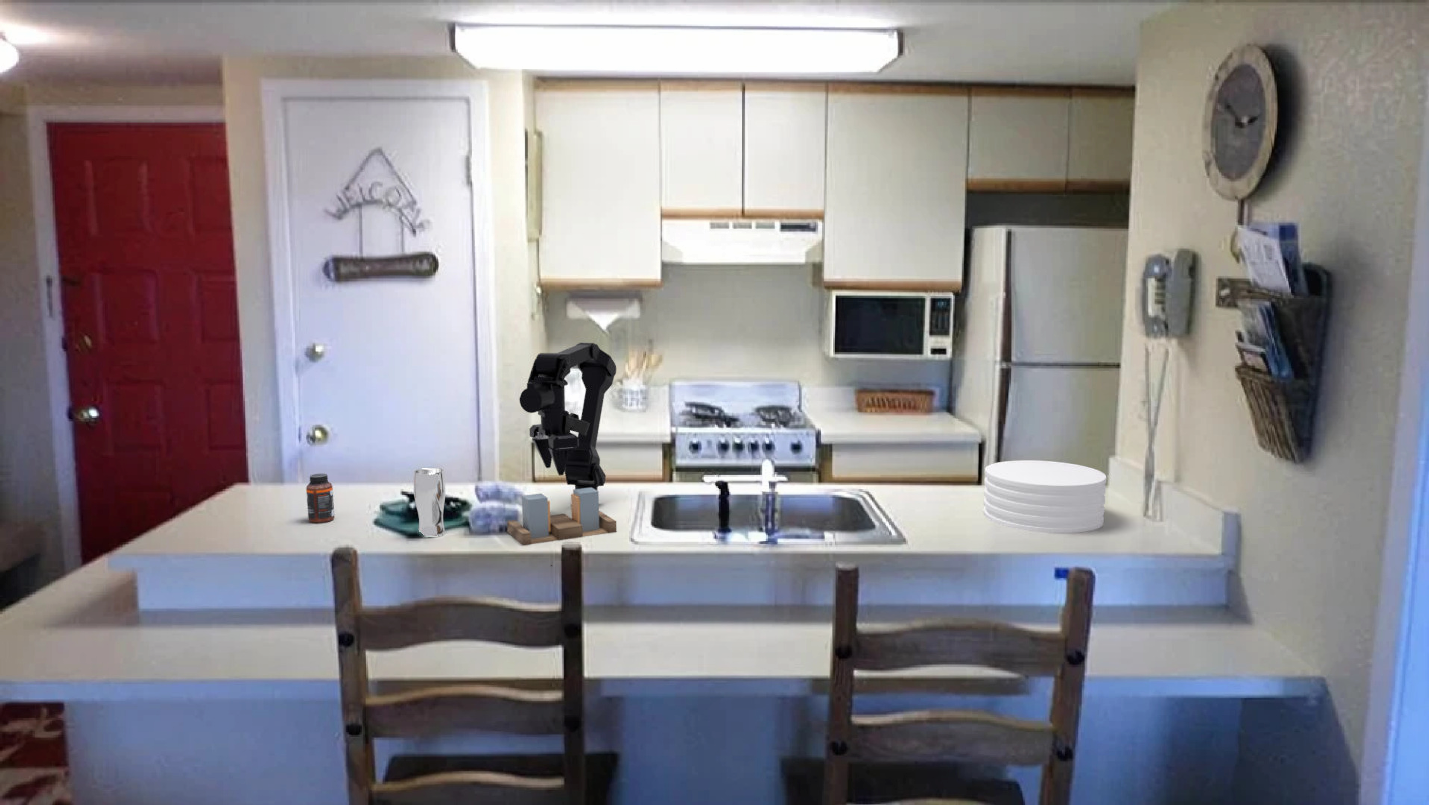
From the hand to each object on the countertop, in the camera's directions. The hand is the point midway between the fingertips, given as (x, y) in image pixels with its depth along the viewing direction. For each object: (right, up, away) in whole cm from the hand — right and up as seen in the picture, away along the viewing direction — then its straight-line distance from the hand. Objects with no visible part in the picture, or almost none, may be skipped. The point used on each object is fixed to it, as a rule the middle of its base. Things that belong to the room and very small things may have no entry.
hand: (554, 471), depth 232 cm
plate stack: (+119, -12, +8) cm, 119 cm away
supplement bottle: (-58, -13, +6) cm, 59 cm away
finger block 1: (-3, -14, -11) cm, 18 cm away
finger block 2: (+8, -13, -5) cm, 16 cm away
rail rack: (+3, -14, -8) cm, 17 cm away
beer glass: (-28, -14, -6) cm, 32 cm away
